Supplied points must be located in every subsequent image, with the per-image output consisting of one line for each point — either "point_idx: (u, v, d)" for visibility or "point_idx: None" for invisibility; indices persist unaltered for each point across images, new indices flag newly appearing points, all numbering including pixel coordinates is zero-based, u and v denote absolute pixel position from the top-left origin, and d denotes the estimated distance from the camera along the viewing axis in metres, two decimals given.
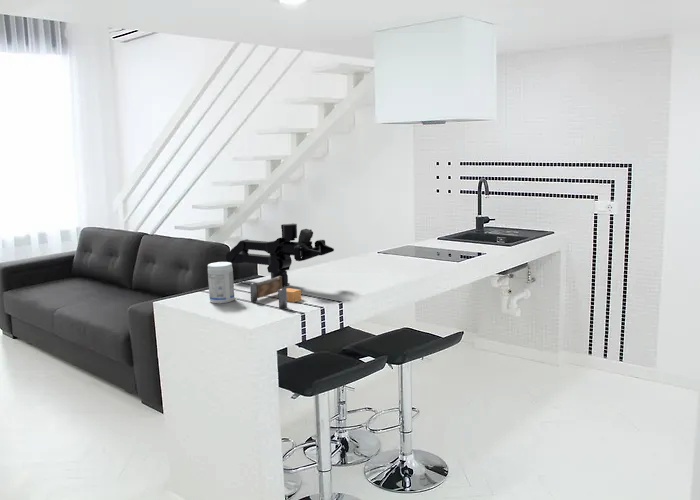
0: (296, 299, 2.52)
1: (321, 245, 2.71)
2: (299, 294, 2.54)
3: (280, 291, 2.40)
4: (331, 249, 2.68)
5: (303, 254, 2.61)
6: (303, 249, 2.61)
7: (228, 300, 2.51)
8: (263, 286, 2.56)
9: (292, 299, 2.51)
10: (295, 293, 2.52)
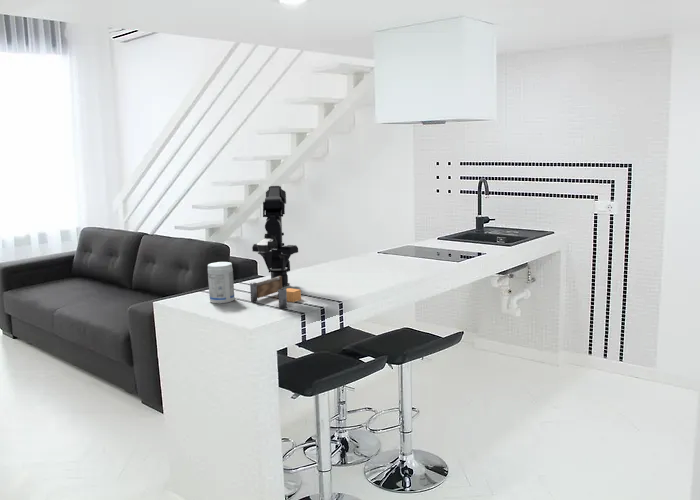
0: (296, 299, 2.52)
1: None
2: (299, 294, 2.54)
3: (280, 291, 2.40)
4: None
5: None
6: None
7: (228, 300, 2.51)
8: (263, 286, 2.56)
9: (292, 299, 2.51)
10: (295, 293, 2.51)
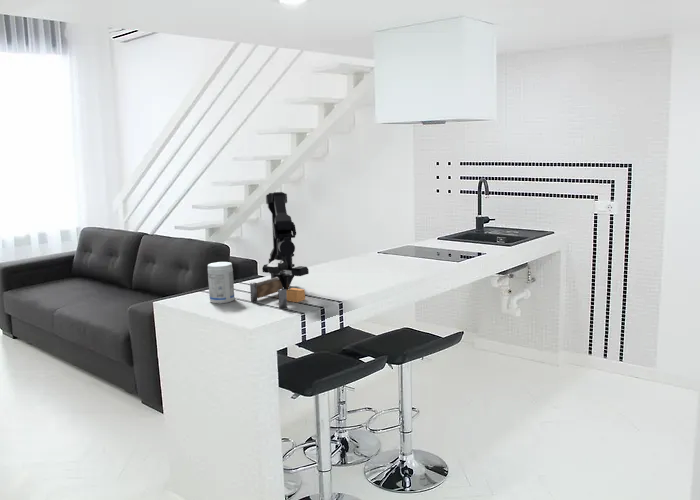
0: (300, 299, 2.52)
1: None
2: (303, 294, 2.53)
3: (280, 291, 2.40)
4: None
5: None
6: None
7: (228, 300, 2.51)
8: (263, 286, 2.56)
9: (296, 299, 2.50)
10: (299, 293, 2.51)
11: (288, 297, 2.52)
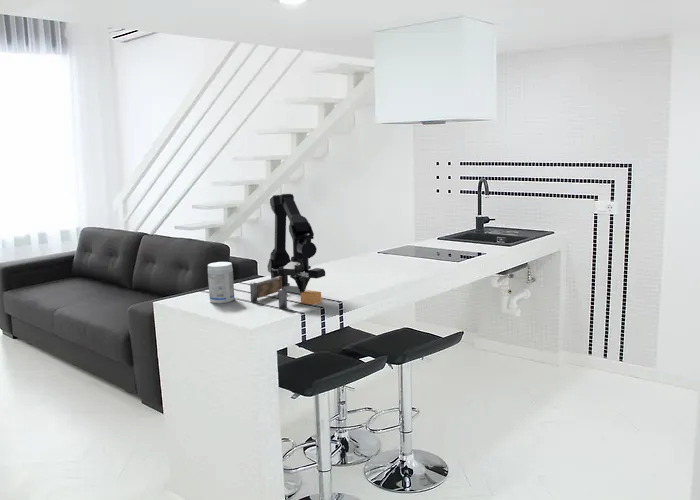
0: (316, 302, 2.48)
1: None
2: (319, 296, 2.49)
3: (280, 291, 2.40)
4: None
5: None
6: None
7: (228, 300, 2.51)
8: (263, 286, 2.56)
9: (312, 302, 2.46)
10: (315, 295, 2.47)
11: (304, 300, 2.48)
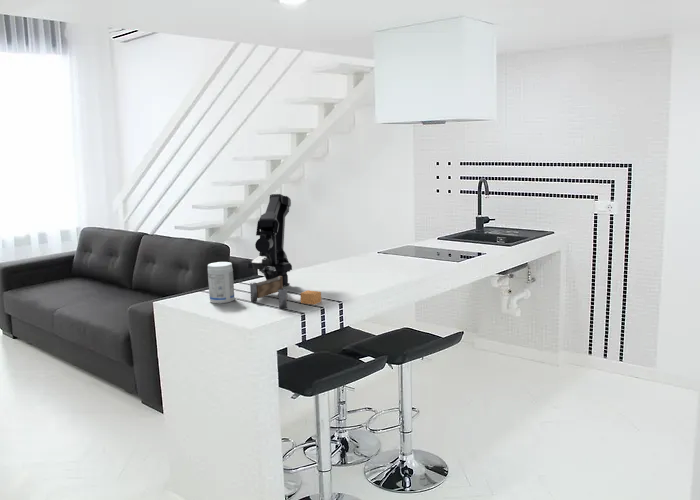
0: (317, 301, 2.48)
1: None
2: (319, 296, 2.49)
3: (280, 291, 2.40)
4: None
5: None
6: None
7: (228, 300, 2.51)
8: (263, 286, 2.56)
9: (313, 301, 2.46)
10: (316, 295, 2.47)
11: (304, 300, 2.48)
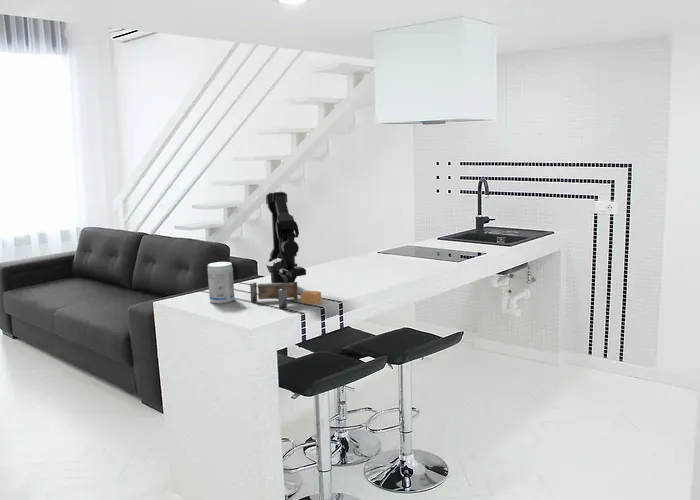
0: (317, 301, 2.48)
1: None
2: (319, 296, 2.50)
3: (280, 291, 2.40)
4: None
5: None
6: None
7: (228, 300, 2.51)
8: (267, 288, 2.52)
9: (313, 301, 2.46)
10: (316, 295, 2.47)
11: (305, 300, 2.48)
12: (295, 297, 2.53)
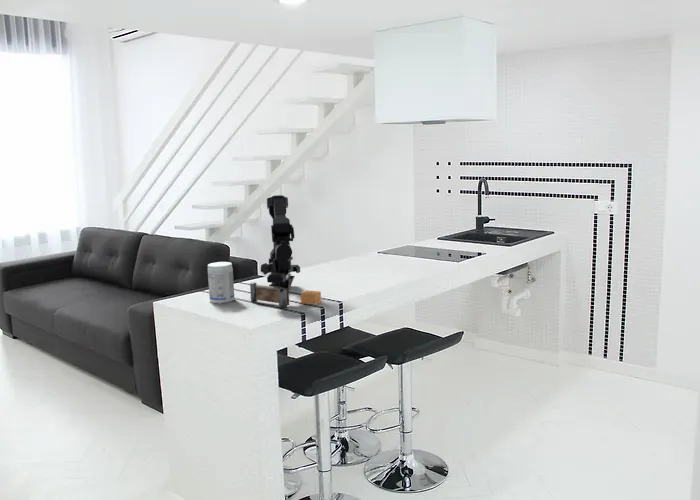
0: (317, 301, 2.48)
1: None
2: (319, 296, 2.50)
3: (280, 291, 2.40)
4: None
5: None
6: None
7: (228, 300, 2.51)
8: (262, 290, 2.49)
9: (314, 301, 2.46)
10: (316, 295, 2.47)
11: (305, 300, 2.48)
12: None
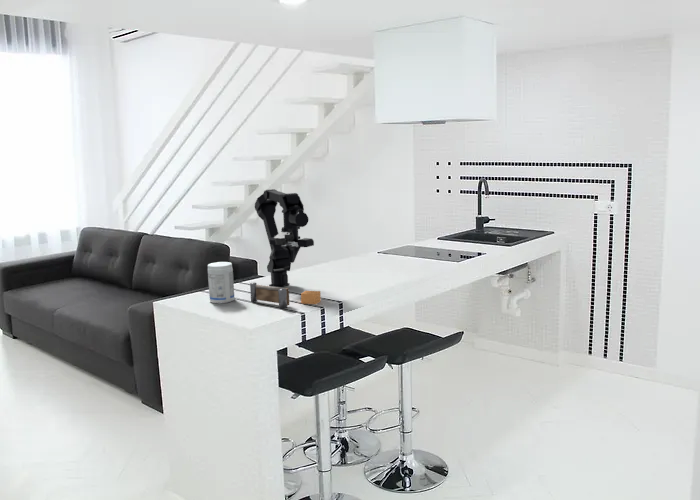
0: (318, 301, 2.48)
1: None
2: (319, 296, 2.50)
3: (280, 291, 2.40)
4: None
5: None
6: None
7: (228, 300, 2.51)
8: (262, 290, 2.49)
9: (315, 301, 2.47)
10: (317, 295, 2.48)
11: (305, 300, 2.48)
12: None
